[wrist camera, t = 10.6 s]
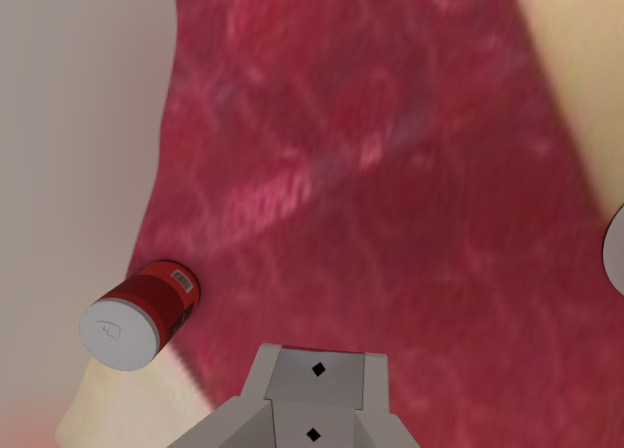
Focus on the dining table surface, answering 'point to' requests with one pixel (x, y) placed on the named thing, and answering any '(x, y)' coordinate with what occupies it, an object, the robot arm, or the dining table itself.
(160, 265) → the canned food
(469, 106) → the dining table surface
